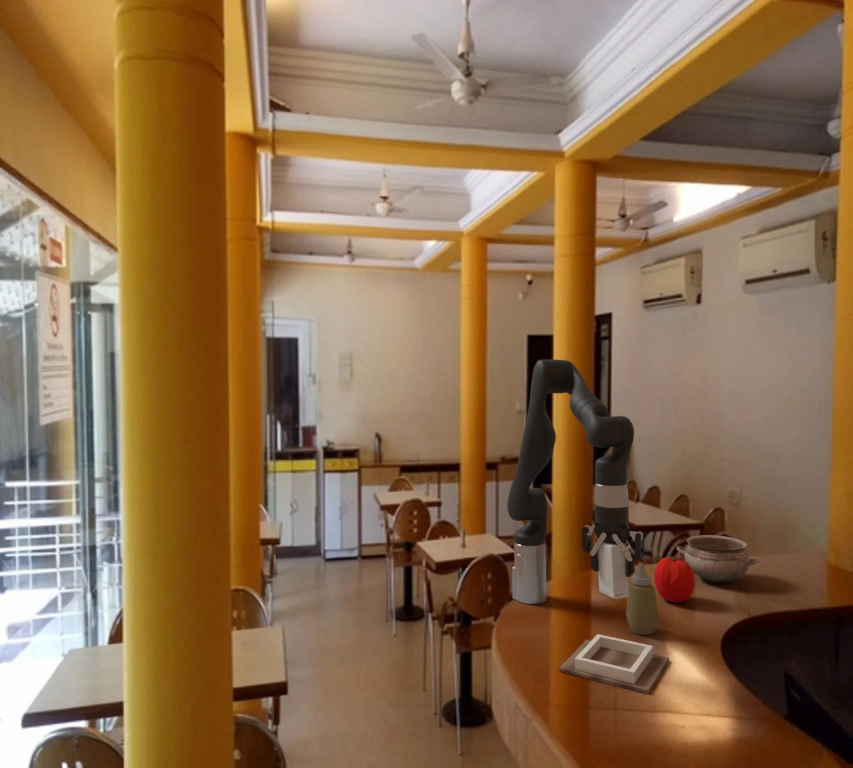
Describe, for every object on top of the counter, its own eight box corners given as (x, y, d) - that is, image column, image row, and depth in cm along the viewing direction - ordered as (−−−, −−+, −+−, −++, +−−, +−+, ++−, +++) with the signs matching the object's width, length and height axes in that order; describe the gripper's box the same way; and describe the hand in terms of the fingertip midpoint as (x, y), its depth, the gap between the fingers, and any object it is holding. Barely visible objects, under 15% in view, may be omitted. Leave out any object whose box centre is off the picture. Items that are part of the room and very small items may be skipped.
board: (559, 671, 149) (559, 668, 149) (586, 642, 164) (586, 639, 164) (648, 694, 137) (648, 690, 137) (669, 660, 152) (668, 657, 152)
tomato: (672, 591, 198) (671, 548, 198) (705, 604, 187) (704, 558, 187) (643, 598, 193) (643, 554, 193) (676, 611, 182) (675, 565, 182)
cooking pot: (666, 580, 208) (665, 542, 208) (687, 565, 222) (687, 530, 222) (750, 597, 191) (749, 556, 191) (767, 580, 205) (767, 542, 205)
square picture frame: (574, 669, 148) (574, 658, 148) (597, 644, 161) (597, 634, 161) (634, 683, 140) (633, 672, 140) (653, 656, 153) (652, 645, 153)
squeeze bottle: (658, 626, 172) (657, 559, 172) (659, 639, 164) (657, 568, 164) (626, 623, 175) (625, 557, 174) (625, 635, 167) (624, 566, 167)
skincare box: (629, 597, 148) (628, 544, 148) (613, 600, 146) (612, 547, 146) (613, 588, 154) (612, 538, 153) (597, 591, 152) (596, 540, 152)
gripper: (575, 502, 150) (577, 573, 151) (638, 509, 142) (639, 583, 143) (587, 496, 157) (588, 564, 157) (647, 502, 149) (648, 573, 149)
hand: (612, 573), depth 150 cm, fingers closed on skincare box, 7 cm apart
